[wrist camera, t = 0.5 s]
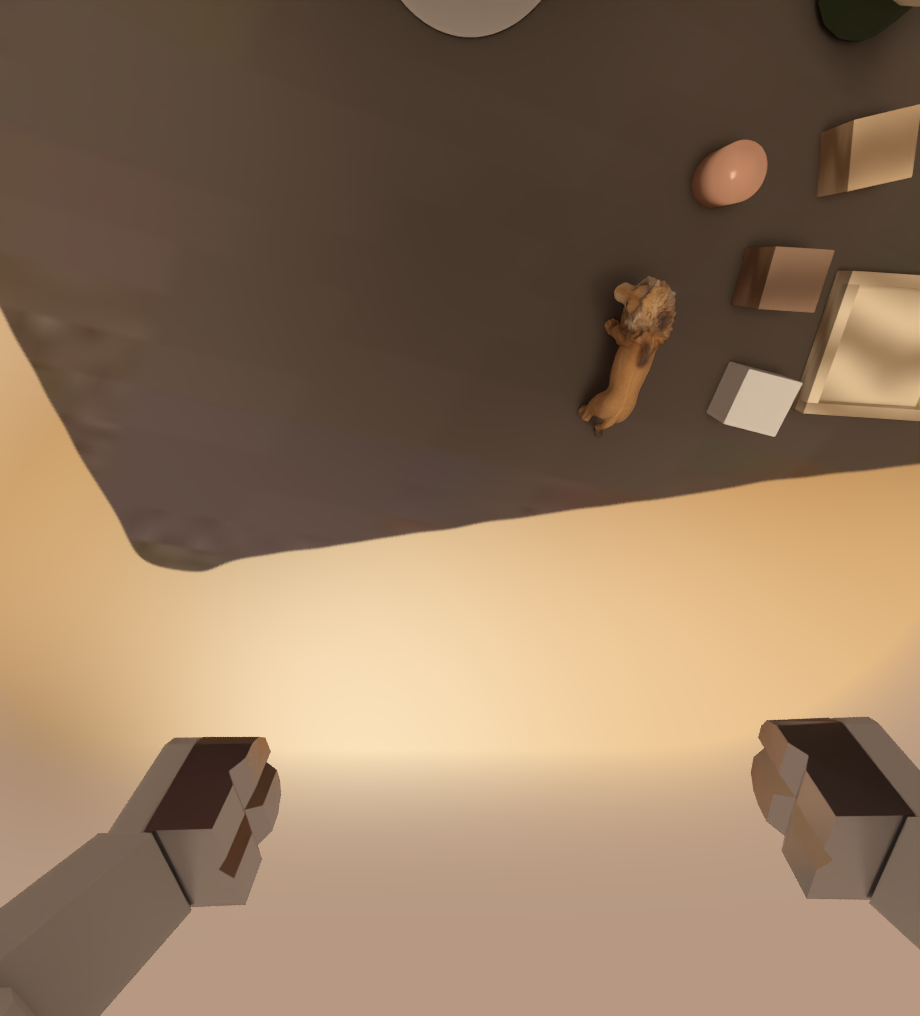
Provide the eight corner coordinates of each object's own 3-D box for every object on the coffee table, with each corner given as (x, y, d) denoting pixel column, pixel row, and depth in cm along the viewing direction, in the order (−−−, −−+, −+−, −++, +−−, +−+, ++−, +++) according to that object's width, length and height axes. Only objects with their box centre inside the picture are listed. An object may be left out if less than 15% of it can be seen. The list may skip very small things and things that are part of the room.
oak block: (820, 132, 41) (853, 119, 37) (881, 118, 40) (921, 103, 37) (816, 197, 43) (847, 191, 39) (874, 184, 42) (911, 176, 39)
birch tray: (837, 270, 45) (852, 270, 43) (976, 279, 45) (997, 280, 43) (791, 407, 50) (803, 413, 48) (916, 416, 50) (933, 421, 48)
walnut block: (745, 248, 44) (776, 246, 40) (798, 251, 44) (834, 250, 40) (730, 304, 46) (758, 309, 42) (781, 307, 46) (814, 312, 42)
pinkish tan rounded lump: (698, 149, 42) (719, 137, 38) (748, 152, 42) (774, 141, 38) (686, 206, 43) (705, 201, 40) (734, 209, 43) (757, 204, 40)
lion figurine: (599, 272, 46) (625, 274, 37) (660, 277, 46) (699, 279, 37) (572, 434, 52) (590, 466, 44) (626, 438, 52) (653, 470, 44)
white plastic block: (729, 361, 49) (749, 368, 45) (778, 374, 49) (802, 382, 45) (705, 412, 51) (723, 423, 47) (753, 424, 51) (774, 436, 47)
